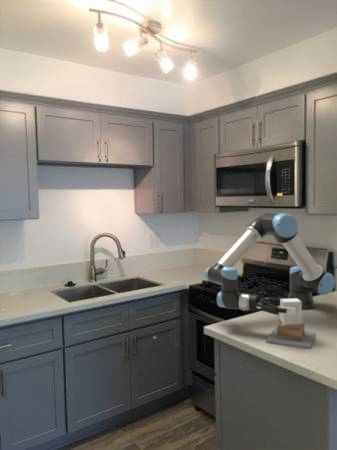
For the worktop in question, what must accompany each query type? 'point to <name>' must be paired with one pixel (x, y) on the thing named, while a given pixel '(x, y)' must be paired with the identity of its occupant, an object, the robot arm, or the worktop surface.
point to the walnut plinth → (291, 331)
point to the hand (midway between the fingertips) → (297, 307)
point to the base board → (304, 343)
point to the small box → (289, 318)
